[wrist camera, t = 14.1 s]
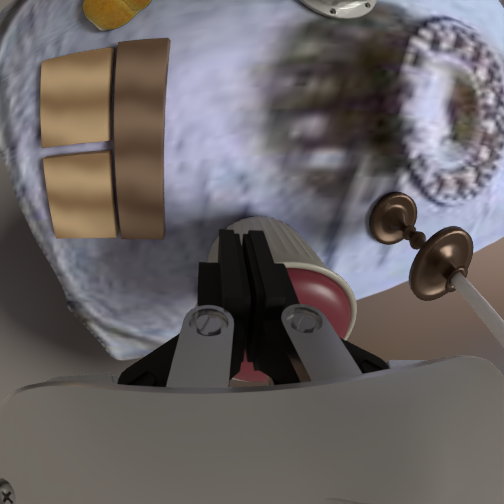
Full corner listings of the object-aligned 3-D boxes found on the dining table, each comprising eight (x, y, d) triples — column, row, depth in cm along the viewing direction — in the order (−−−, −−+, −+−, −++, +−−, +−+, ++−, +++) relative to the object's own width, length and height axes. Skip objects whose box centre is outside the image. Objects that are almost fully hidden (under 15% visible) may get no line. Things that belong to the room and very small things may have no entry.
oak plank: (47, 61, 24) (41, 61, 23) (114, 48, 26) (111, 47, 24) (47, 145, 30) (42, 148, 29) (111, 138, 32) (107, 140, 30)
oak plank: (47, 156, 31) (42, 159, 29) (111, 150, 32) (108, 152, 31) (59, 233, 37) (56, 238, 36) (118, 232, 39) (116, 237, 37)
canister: (176, 278, 44) (164, 398, 26) (225, 173, 37) (240, 265, 19) (276, 310, 50) (305, 417, 33) (335, 225, 43) (407, 323, 25)
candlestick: (366, 189, 40) (544, 376, 11) (421, 184, 41) (586, 328, 11) (361, 251, 46) (482, 438, 16) (413, 241, 47) (537, 393, 17)
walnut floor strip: (122, 44, 26) (118, 42, 24) (170, 40, 27) (168, 37, 25) (125, 232, 39) (121, 238, 37) (165, 232, 40) (163, 239, 38)
